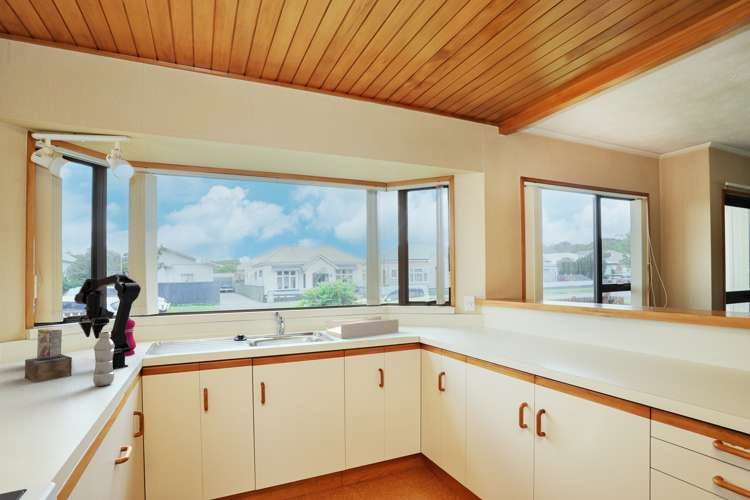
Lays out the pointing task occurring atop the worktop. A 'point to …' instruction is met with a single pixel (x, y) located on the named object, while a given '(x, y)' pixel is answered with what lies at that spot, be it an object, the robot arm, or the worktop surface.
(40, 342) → the candy bar box
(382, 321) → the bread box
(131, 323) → the pepper mill
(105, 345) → the plastic bottle
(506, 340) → the worktop surface
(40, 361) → the box
